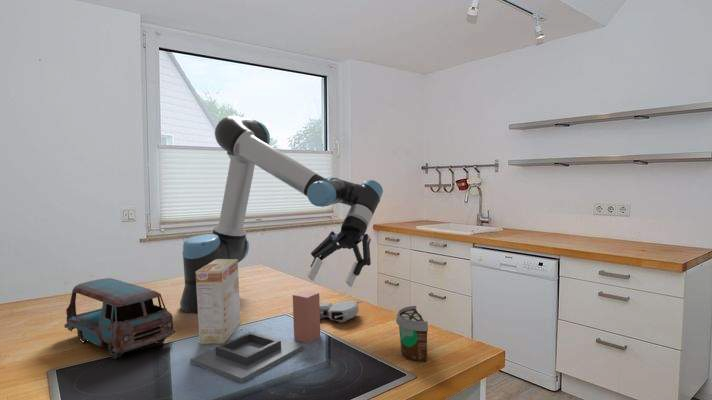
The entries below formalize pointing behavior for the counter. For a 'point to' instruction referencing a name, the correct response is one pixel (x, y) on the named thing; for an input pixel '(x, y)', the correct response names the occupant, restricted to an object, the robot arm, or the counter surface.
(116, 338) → the toy van
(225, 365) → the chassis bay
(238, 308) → the coffeecake box
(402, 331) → the food container
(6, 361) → the counter surface
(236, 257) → the robot arm
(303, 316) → the salmon pink rectangular block
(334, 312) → the robot toy
